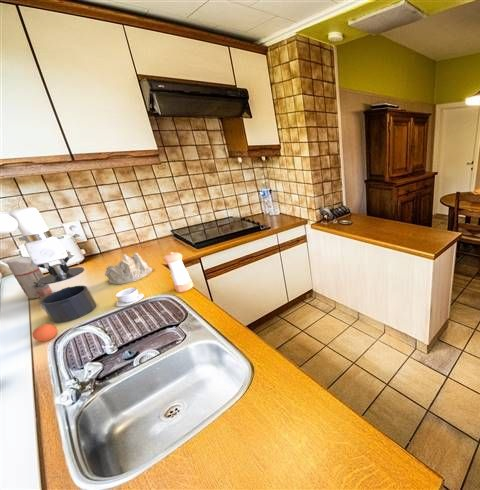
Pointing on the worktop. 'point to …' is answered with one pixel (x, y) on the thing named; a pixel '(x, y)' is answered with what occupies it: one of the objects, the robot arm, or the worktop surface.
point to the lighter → (41, 289)
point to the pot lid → (60, 274)
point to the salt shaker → (178, 272)
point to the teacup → (128, 297)
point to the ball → (45, 332)
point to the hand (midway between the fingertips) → (61, 273)
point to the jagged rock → (128, 270)
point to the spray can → (26, 275)
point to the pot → (68, 304)
